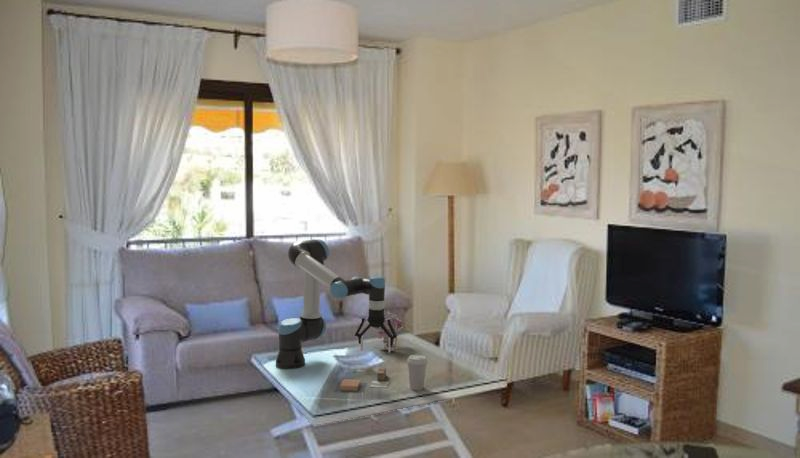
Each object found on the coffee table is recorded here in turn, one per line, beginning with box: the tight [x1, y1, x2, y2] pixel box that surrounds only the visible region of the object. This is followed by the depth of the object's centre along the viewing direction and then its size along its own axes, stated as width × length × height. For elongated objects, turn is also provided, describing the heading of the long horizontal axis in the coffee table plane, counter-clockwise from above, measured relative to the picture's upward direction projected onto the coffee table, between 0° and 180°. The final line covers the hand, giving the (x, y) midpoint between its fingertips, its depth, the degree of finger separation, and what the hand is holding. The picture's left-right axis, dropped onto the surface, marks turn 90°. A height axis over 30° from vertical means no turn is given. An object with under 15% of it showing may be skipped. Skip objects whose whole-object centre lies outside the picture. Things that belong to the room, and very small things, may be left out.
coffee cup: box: [406, 354, 428, 391], centre depth 315 cm, size 10×10×15 cm
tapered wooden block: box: [369, 366, 390, 389], centre depth 323 cm, size 18×8×5 cm, turn 175°
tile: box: [340, 378, 361, 391], centre depth 314 cm, size 2×8×9 cm
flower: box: [374, 309, 409, 353], centre depth 380 cm, size 20×22×25 cm
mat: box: [333, 381, 368, 393], centre depth 315 cm, size 13×14×1 cm
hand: (375, 351), depth 326 cm, fingers open, 13 cm apart
